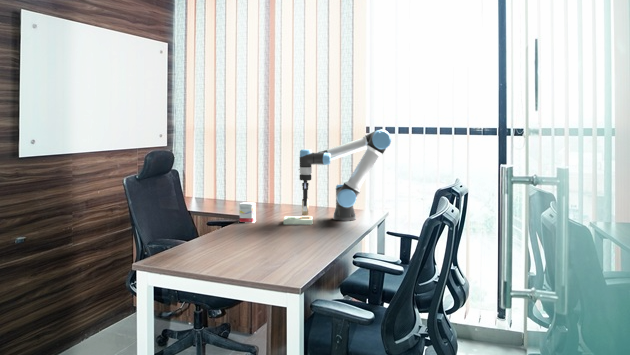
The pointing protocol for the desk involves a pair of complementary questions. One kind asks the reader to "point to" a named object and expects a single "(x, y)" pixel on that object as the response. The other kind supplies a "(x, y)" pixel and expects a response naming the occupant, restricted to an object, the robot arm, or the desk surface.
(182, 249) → the desk surface
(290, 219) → the socket board
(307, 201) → the peg
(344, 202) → the robot arm
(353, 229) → the desk surface
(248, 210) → the ink box
